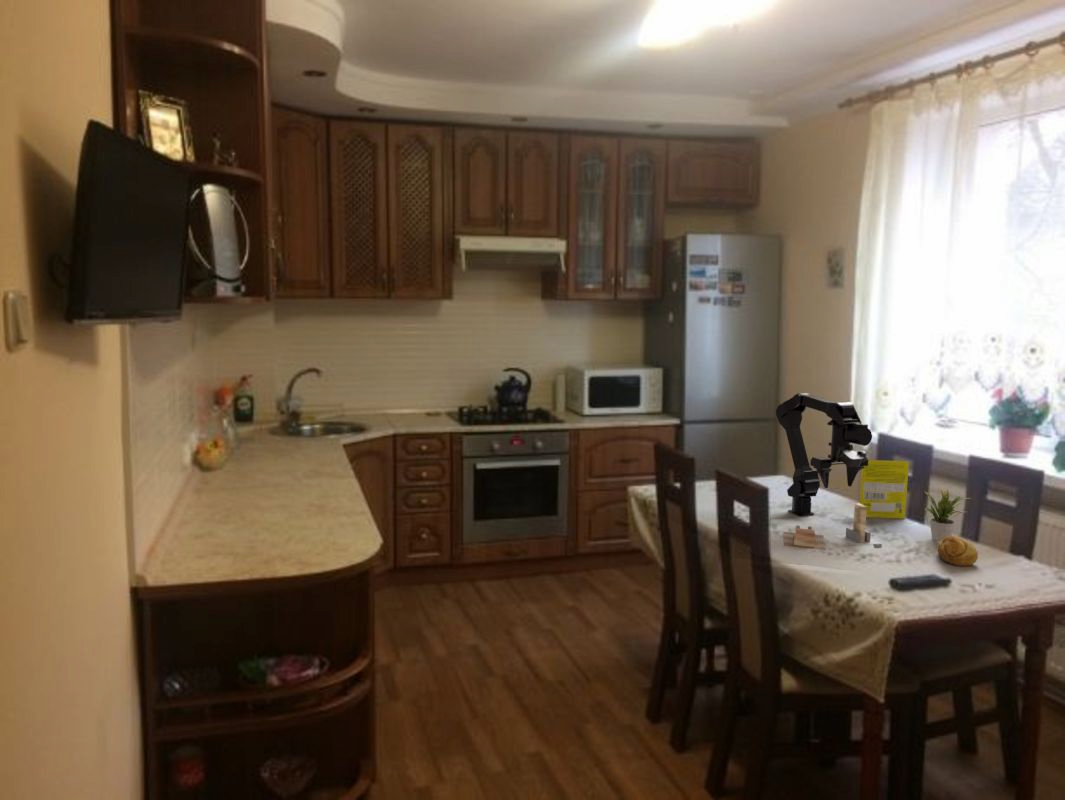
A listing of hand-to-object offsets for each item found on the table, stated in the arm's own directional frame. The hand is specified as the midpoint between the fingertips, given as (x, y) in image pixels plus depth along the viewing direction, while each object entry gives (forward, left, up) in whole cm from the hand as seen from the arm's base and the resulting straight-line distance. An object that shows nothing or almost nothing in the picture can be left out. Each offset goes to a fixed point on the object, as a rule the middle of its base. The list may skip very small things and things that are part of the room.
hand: (837, 487), depth 274 cm
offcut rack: (+14, -22, -13) cm, 29 cm away
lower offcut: (+17, -25, -12) cm, 32 cm away
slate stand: (+18, -6, -13) cm, 23 cm away
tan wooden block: (+18, -6, -12) cm, 23 cm away
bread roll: (+40, +10, -13) cm, 43 cm away
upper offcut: (+17, -25, -10) cm, 32 cm away
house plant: (+24, +22, -13) cm, 35 cm away
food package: (-4, +22, -13) cm, 26 cm away
